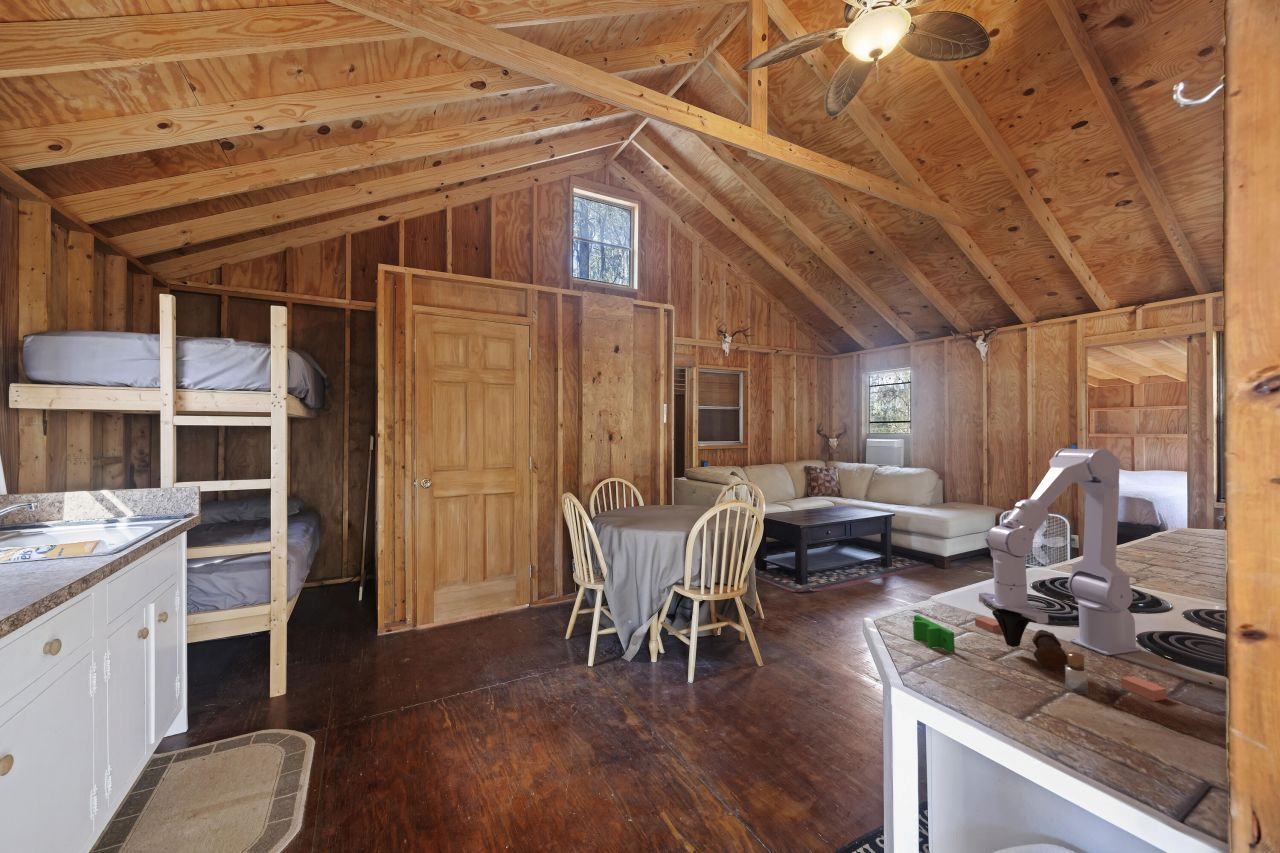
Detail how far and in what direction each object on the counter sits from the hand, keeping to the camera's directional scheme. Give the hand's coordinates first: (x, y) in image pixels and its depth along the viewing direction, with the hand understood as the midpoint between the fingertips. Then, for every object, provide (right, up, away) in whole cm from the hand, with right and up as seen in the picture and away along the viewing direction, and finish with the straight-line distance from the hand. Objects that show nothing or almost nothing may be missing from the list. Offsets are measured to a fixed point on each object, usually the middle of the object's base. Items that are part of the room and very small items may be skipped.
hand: (1013, 645), depth 109 cm
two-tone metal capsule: (+1, -2, -15) cm, 15 cm away
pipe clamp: (-14, -3, +7) cm, 16 cm away
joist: (+5, -2, +14) cm, 15 cm away
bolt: (+6, -2, -2) cm, 7 cm away
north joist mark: (+11, -1, -17) cm, 20 cm away
